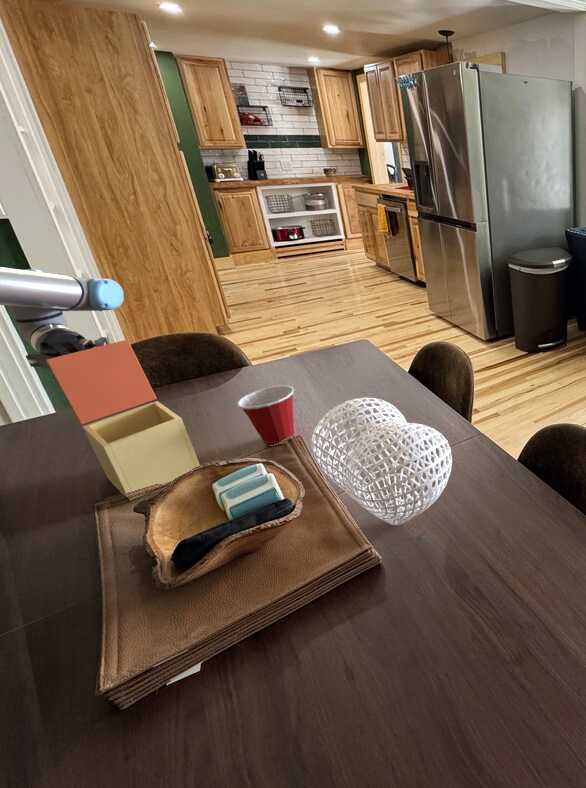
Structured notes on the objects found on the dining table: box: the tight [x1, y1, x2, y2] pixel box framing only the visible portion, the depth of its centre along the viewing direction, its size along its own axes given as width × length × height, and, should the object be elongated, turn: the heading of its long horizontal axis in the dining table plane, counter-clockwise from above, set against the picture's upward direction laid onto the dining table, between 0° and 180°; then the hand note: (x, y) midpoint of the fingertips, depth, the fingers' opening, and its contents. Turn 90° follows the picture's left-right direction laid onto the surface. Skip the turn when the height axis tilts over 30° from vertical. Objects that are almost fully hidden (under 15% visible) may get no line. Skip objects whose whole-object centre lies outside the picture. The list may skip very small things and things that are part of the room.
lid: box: [46, 339, 157, 425], centre depth 95 cm, size 14×12×1 cm
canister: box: [81, 400, 201, 494], centre depth 96 cm, size 13×12×13 cm
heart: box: [310, 397, 453, 526], centre depth 83 cm, size 28×16×22 cm, turn 53°
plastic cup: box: [236, 384, 295, 447], centre depth 108 cm, size 11×11×12 cm
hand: (93, 368), depth 98 cm, fingers closed
